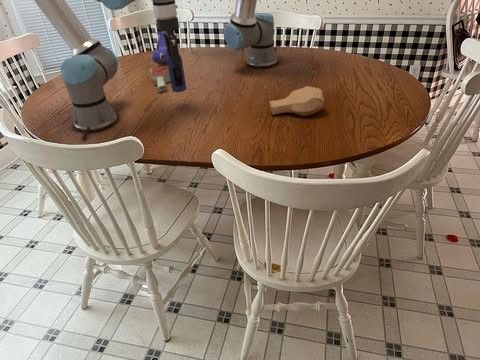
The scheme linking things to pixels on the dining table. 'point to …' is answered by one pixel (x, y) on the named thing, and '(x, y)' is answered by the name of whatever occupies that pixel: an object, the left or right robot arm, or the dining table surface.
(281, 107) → the squash
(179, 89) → the can
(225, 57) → the dining table surface
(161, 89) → the tape dispenser
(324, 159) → the dining table surface
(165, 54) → the toy
